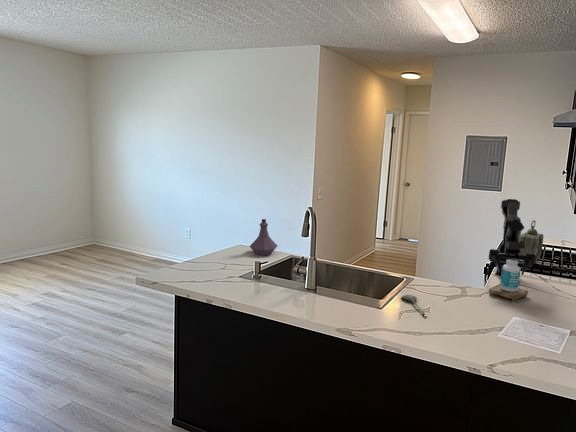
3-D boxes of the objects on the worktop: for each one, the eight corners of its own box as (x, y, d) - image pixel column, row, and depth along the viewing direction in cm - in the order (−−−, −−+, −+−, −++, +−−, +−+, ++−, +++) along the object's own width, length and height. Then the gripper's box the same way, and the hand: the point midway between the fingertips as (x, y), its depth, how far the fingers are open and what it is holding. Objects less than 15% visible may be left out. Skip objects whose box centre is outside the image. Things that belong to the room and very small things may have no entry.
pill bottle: (510, 293, 198) (514, 264, 195) (495, 288, 204) (499, 259, 201) (521, 291, 201) (525, 261, 198) (507, 285, 207) (510, 257, 205)
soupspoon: (413, 298, 201) (399, 299, 200) (413, 291, 200) (399, 292, 200) (433, 318, 179) (416, 319, 179) (433, 309, 179) (416, 311, 178)
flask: (276, 249, 271) (276, 216, 267) (279, 257, 255) (279, 222, 251) (248, 249, 269) (248, 216, 265) (249, 257, 253) (249, 222, 249)
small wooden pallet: (488, 295, 204) (489, 288, 203) (500, 289, 211) (501, 283, 211) (515, 303, 195) (516, 296, 194) (527, 297, 202) (528, 290, 202)
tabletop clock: (532, 269, 241) (538, 223, 236) (514, 265, 247) (519, 221, 242) (539, 263, 252) (545, 219, 247) (522, 260, 258) (528, 217, 253)
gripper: (491, 231, 204) (489, 261, 196) (538, 236, 197) (538, 267, 190) (489, 244, 213) (487, 273, 205) (533, 249, 206) (533, 279, 198)
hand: (511, 273), depth 199 cm, fingers open, 9 cm apart
